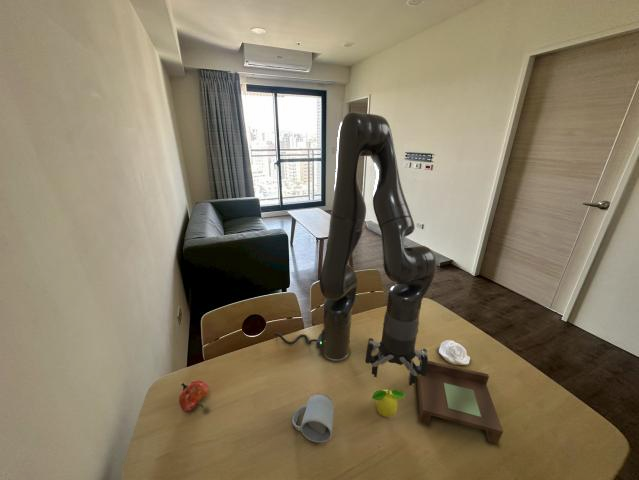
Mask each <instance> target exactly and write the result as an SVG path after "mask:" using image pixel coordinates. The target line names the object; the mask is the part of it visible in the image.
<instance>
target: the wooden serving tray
mask: <svg viewBox="0 0 639 480" xmlns="http://www.w3.org/2000/svg"><path fill="white" fill-rule="evenodd" d="M489 378H490V376H489V374H488V373H485V372H481V371H476V370H472V369H467V368H462V367H459V366H454V365H453V366H452V365H450V364H444V363H440V362H435V361H432V360H428V362H427V370H426V375H425V376H422V375H421V374H418V375H417V377H416V384H417V396H418V398H417V399H418V408H419V409H418V410H419V421H420V423H421V424H424V425H429V424H430V420H431V416H432V417H437V418H440V419H444V420H447V421H450V422H453V423H454V422H455V423H459V424H462V425H465V426H468V427H472V428H475V429H479V430H483V431H485V435H486V439H487V442H488V443H492V444H494V445H498V444H499V442H500V441H501V438H502V435H503V433H504V429H503V427H502V425H501V421H500V418H499V416H498V413H497V410H496V408H495V405H494V402H493V399H492V396H491V394H490V391H489V388H488V385H487V384H488V381H489Z"/></svg>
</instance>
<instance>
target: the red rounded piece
mask: <svg viewBox="0 0 639 480" xmlns="http://www.w3.org/2000/svg"><path fill="white" fill-rule="evenodd" d="M180 386H182V387H183V389H182V392H181V393H180V394H179V399H178V404H179V406H180V408H181V410H183V411H185V412H191V411H192V410H193V409H194V408H195V407H196V406H198V404H199V406H200V407H202V409H203V410H204V411H205V412H207V410H206V408H205V406H204V405H203V404H202V403H201V401H202V400H203V399H204V398H205V397H206V396H207V395H208V393H209V392H210V391H209V390H210V388H209V386H208V384H207V383H206V382H204V381H202V380H194V381H192V382H190V383H189V384H187V385H186V384H185V383H184V382H183V383H181V384H180Z"/></svg>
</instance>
